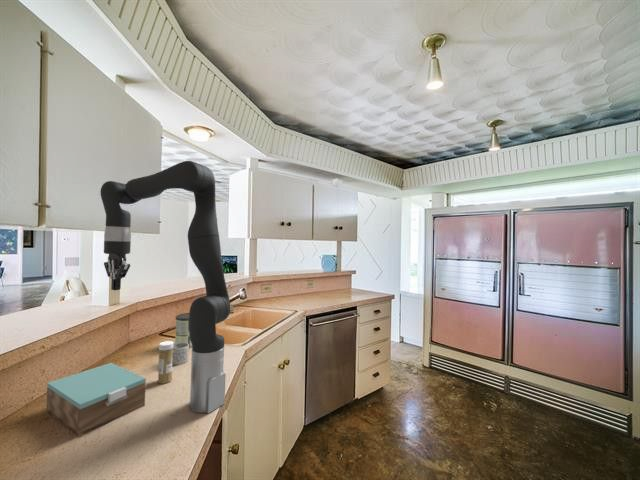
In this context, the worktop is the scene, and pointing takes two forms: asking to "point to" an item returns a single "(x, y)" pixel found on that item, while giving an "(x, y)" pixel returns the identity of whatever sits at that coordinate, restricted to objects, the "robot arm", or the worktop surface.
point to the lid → (96, 385)
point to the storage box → (93, 410)
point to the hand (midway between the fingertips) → (115, 289)
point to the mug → (180, 353)
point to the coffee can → (182, 329)
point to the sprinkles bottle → (165, 362)
